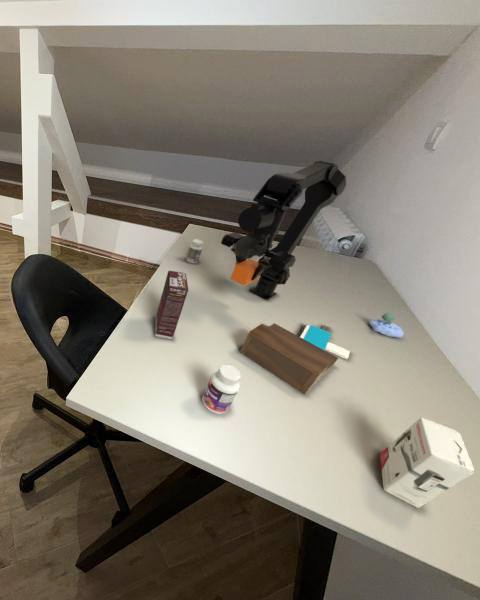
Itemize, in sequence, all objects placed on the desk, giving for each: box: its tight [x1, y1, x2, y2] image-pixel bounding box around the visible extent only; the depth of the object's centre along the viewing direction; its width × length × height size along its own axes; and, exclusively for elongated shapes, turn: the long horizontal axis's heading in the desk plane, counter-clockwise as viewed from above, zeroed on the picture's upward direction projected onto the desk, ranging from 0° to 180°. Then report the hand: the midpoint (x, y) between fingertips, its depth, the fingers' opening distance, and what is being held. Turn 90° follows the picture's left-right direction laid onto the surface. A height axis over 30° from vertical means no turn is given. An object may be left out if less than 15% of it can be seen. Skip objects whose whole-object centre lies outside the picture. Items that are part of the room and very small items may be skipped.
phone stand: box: [296, 324, 351, 360], centre depth 84 cm, size 20×12×2 cm, turn 136°
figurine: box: [369, 312, 405, 339], centre depth 91 cm, size 8×7×7 cm
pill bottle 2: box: [201, 364, 242, 415], centre depth 63 cm, size 5×5×10 cm
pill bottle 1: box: [185, 238, 204, 264], centre depth 121 cm, size 5×5×8 cm
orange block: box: [229, 258, 260, 286], centre depth 90 cm, size 7×4×5 cm, turn 125°
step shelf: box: [239, 323, 339, 395], centre depth 77 cm, size 16×16×7 cm
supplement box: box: [154, 270, 189, 340], centre depth 81 cm, size 9×5×16 cm, turn 168°
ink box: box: [379, 416, 475, 509], centre depth 52 cm, size 9×5×12 cm, turn 145°
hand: (245, 276), depth 91 cm, fingers closed on orange block, 4 cm apart
